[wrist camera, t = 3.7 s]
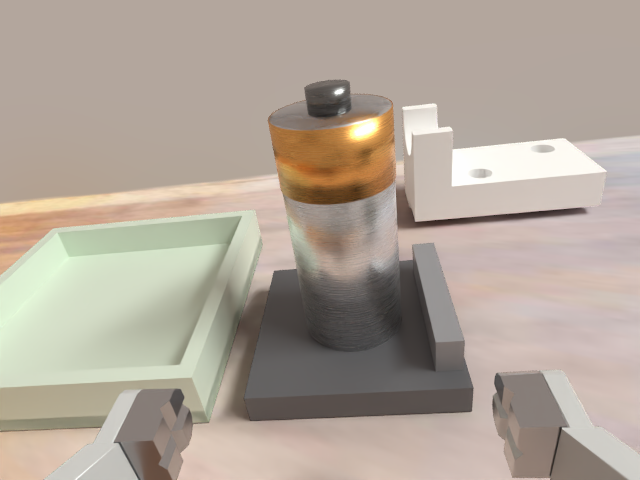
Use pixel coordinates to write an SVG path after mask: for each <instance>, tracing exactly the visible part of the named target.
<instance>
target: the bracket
mask: <svg viewBox="0 0 640 480" xmlns="http://www.w3.org/2000/svg"><path fill="white" fill-rule="evenodd" d="M402 122H403V151H404V181H405V193H406V196H407V200H408V204H409V207H410V208H412V212H413V215H414V219H415V222H418V221H430V220H441V219H453V218H464V217H476V216H487V215H499V214H510V213H522V212H533V211H545V210H556V209H568V208H580V207H591V206H600V204H601V199H602V194H603V190H604V185H605V180H606V175H607V171H606V170H604V169H603V168H602V167H600V166H599V165H598V164H597V163H595V162H594V161H593V160H592V159H590V158H589V157H588V156H586V155H585V154H584V153H583V152H581V151H580V150H579V149H578V148H576V147H575V146H574V145H572V144H571V143H570V142H569V141H567V140H566V139H565V138H563V139H562V138H561V139H552V140H542V141H533V142H522V143H513V144H504V145H493V146H483V147H474V148H465V149H454V150H453V131H452V129H451V127H444V128H438V123H437V106H436V104H425V105H417V106H408V107H402Z"/></svg>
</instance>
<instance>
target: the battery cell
mask: <svg viewBox="0 0 640 480" xmlns="http://www.w3.org/2000/svg"><path fill="white" fill-rule="evenodd" d="M304 89H305V96H306V100H304V101H300V102H296V103H293V104H290V105H287V106H285V107H283V108H280V109H278V110H277V111H275V112H274V113H272V114H271V115H270V116H269V118H268V123H269V129H270V134H271V139H272V145H273V150H274V155H275V160H276V166H277V171H278V177H279V182H280V188H281V191H282V193H283V197H284V203H285V208H286V214H287V219H288V224H289V230H290V235H291V241H292V246H293V251H294V257H295V262H296V268H297V273H298V278H299V284H300V289H301V295H302V300H303V305H304V311H305V316H306V322H307V327H308V330H309V333H310V334H311V336H312V337H313V338H314V339H315V340H316V341H317V342H318V343H319V344H321V345H323V346H325V347H327V348H329V349H333V350H337V351H343V352H358V351H364V350H369V349H372V348H375V347H377V346H380V345H382V344H383V343H385V342H387V341H388V340H389V339H391V338H392V337H393V336H394V335H395V334H396V332H397V331H398V329H399V327H400V325H401V320H402V315H401V293H400V272H399V251H398V229H397V208H396V187H395V178H396V161H395V140H394V118H393V103H392V101H391V100H389V99H387V98H385V97H382V96H377V95H370V94H350V83H349V82H348V81H346V80H328V81H321V82H316V83H313V84H310V85H308V86H306V87H305V88H304Z"/></svg>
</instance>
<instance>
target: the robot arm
mask: <svg viewBox="0 0 640 480" xmlns="http://www.w3.org/2000/svg"><path fill="white" fill-rule="evenodd" d="M494 384H495V387H496V390H497V393H496V394H495V395H494V396H493V404H492V406H493V417H494V421H495V426H496V429H497V432H498V435H499V436H500V437H501V438H502V439H504V440H505V446H504V454H505V457H506V460H507V463H508V466H509V469H510V472H511V475H512V478H550V480H640V454H638V453H637V452H636V451H634V450H633V449H631V448H630V447H629V446H627V445H626V444H624V443H623V442H622V441H620V440H619V439H617V438H616V437H615V436H613V435H612V434H610V433H609V432H608V431H606V430H605V429H603V428H602V427H594V426H593V424H592V422H591V420H590V419H589V417H588V415H587V413H586V411H585V409H584V408H583V406H582V404H581V402H580V400H579V398H578V397H577V395H576V393H575V391H574V389H573V387H572V386H571V384H570V382H569V380H568V378H567V376H566V375H565V373H564V372H563V371H562V370H542V371H520V372H503V373H497V374H496V376H495V381H494ZM184 398H185V397H184V395H183V393H182V391H181V389H177V388H176V389H138V390H124V391H123V392H122V393H120V394H119V396H118V398H117V400H116V402H115V403H114V405H113V407H112V409H111V411H110V413H109V415H108V416H107V418H106V420H105V422H104V424H103V426H102V428H101V429H100V431H99V433H98V435H97V437H96V439H95V441H94V442H93V444H87V445H86V446H84V447H83V448H82V449H81V450H79V451H78V452H77V453H76V454H74V455H73V456H72V457H71V458H70V459H68V460H67V461H66V462H65V463H63V464H62V465H61V466H60V467H58V468H57V469H56V470H55V471H53V472H52V473H51V474H50V475H49V476H47V477H46V478H45V479H44V480H177V478H178V475H179V472H180V469H181V466H182V463H183V459H182V457H181V454H180V453H181V452H182V451H183V450H184V449H185V448H186V447H187V446H188V445H189V442H190V439H191V436H192V427H193V421H192V415H191V412H190V409H189V408H187V407H186V406H185V405H183V404H182V403H183V401H184Z"/></svg>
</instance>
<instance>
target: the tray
mask: <svg viewBox="0 0 640 480" xmlns="http://www.w3.org/2000/svg"><path fill="white" fill-rule="evenodd" d="M262 245H263V244H262V239H261V235H260V230H259V226H258V221H257V217H256V212H255V210H247V211H236V212H225V213H214V214H204V215H193V216H182V217H171V218H161V219H150V220H139V221H128V222H118V223H107V224H96V225H85V226H75V227H64V228H53V229H52V230H51V231H50V232H49V233H48V234H47V235H45V236H44V237H43V238H42V239H41V240H40V241H39V242H38V243H36V244H35V245H34V246H33V247H32V248H31V249H30V250H29V251H27V252H26V253H25V254H24V255H23V256H22V257H21V258H20V259H19V260H17V261H16V262H15V263H14V264H13V265H12V266H11V267H10V268H8V269H7V270H6V271H5V272H4V273H3V274H2V275H1V276H0V431H17V430H40V429H64V428H88V427H102V426H103V424H104V422H105V420H106V418H107V416H108V415H109V413H110V411H111V409H112V407H113V405H114V403H115V402H116V400H117V398H118V396H119V394H120V393H122V392H123V391H124V390H138V389H176V388H177V389H181V391H182V393H183V395H184V397H185V398H184V401H183V403H182V404H183V405H185V406H186V407H187V408H189V409H190V412H191V415H192V421H193V423H206V422H209V421H210V417H211V414H212V411H213V407H214V404H215V401H216V397H217V394H218V391H219V387H220V384H221V381H222V377H223V374H224V371H225V368H226V364H227V361H228V358H229V354H230V351H231V348H232V344H233V341H234V338H235V334H236V331H237V328H238V324H239V321H240V318H241V314H242V311H243V308H244V305H245V301H246V298H247V295H248V291H249V288H250V285H251V281H252V278H253V275H254V271H255V268H256V265H257V261H258V258H259V255H260V251H261V248H262Z"/></svg>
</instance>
